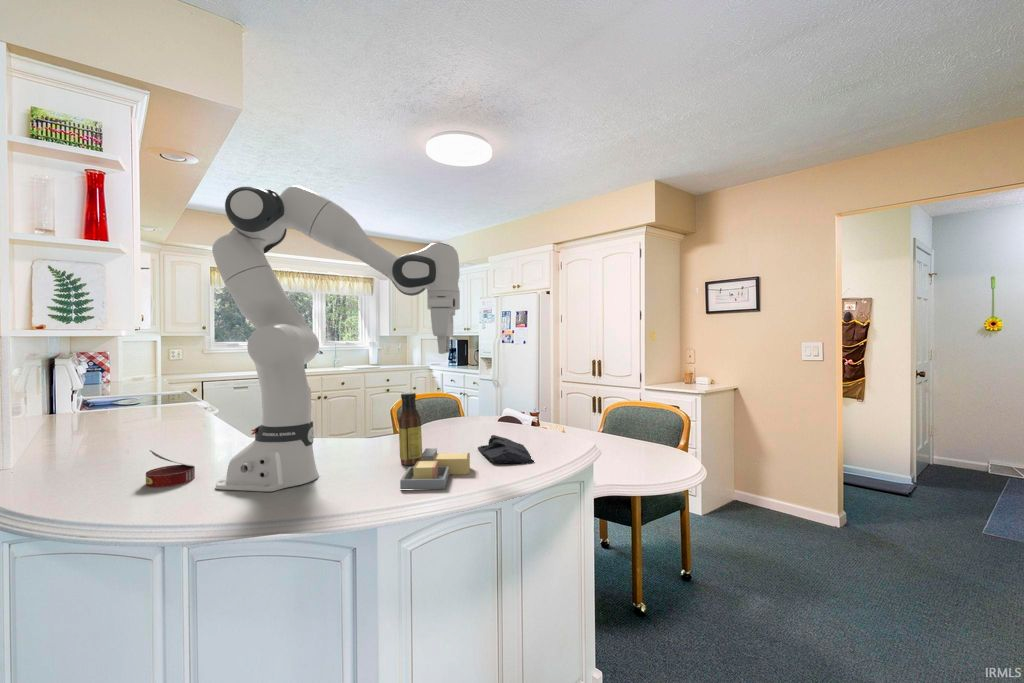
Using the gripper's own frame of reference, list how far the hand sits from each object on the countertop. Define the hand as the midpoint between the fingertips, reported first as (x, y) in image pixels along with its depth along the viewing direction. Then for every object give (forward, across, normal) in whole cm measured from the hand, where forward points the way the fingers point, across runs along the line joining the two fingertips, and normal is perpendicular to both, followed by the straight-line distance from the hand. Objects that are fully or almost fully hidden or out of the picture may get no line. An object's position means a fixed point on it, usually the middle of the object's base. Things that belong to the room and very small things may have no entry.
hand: (444, 353), depth 126 cm
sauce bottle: (+31, -4, -10) cm, 33 cm away
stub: (+31, +14, -3) cm, 34 cm away
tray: (+31, +14, -3) cm, 34 cm away
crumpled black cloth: (+32, -11, +17) cm, 38 cm away
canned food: (+31, +9, -67) cm, 75 cm away
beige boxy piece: (+31, +5, +1) cm, 32 cm away
